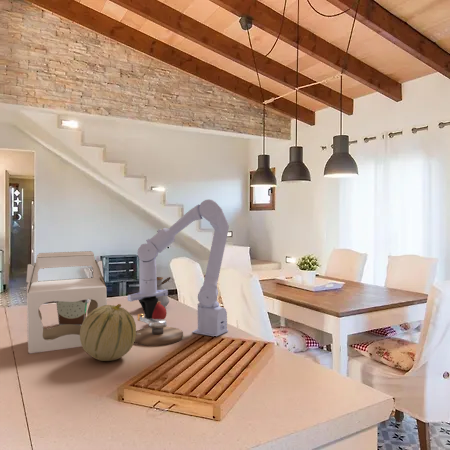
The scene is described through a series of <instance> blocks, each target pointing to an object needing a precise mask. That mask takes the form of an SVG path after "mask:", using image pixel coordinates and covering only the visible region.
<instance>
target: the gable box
mask: <svg viewBox="0 0 450 450" xmlns="http://www.w3.org/2000/svg"><path fill="white" fill-rule="evenodd" d="M71 267H75V268H76V267H92V277H82V278H68V279H67V278H66V279H54V280H53V279H51V280H50V279H49V280H39V275H38V274H39V271H40V270H41V269H43V270H44V269H53V268H54V269H55V268H71ZM25 282H26V283H27V285H26V306H27V307H26V313H27V315H26V316H27V317H26V321H27V323H26V324H27V325H26V326H27V352H28V354H39V353H44V352H51V351H58V350H66V349H73V348H80V347H81V348H83V347H82V344H81V341H80V329H81V325H74V324H64V325H57V326H54V327H51V328H44V324H43V322H42V321H43V320H42V319H43V317H42V313H41V311H40V307H41V306H42V305H45V304H47V303H51V302H55V301H63V302H76V301H81V300H87V299H89V300H90V301H89V305H88V306H87V310H86V316H87V315H88V314H89V313H90V312H92V311H93V310H94V309H96V308H98V307H101V306H104V305H108V303H107V297H108V296H107V294H108V293H107V285H106V282H105V280H104V268H103V260H98V261H97V260H96V259H95V253H94V252H93V251H91V250H84V251H82V250H81V251H57V252H39V253H38V254H37V255H36V259H35V262H34V264H33V265H32V264H31V263H29V264H27V270H26V279H25Z"/></svg>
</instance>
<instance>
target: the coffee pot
mask: <svg viewBox="0 0 450 450" xmlns="http://www.w3.org/2000/svg"><path fill="white" fill-rule="evenodd" d="M171 279H172V280H171ZM170 280H171V282H173V281H174V279H173V278H172V277H170V276H169V277H166V278H165V279H164V277H161V276H157V290H164V289H165V287H164V284H166V283H168V282H169V283H170ZM147 297H148V296H147ZM156 298H158V302H159V301H160V302H161V303H160V304H161V305H163V306H164V307H165V308H166V307H168V305H169V303H170V298H169V297H168V296H159V297H156Z"/></svg>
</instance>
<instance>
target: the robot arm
mask: <svg viewBox="0 0 450 450" xmlns="http://www.w3.org/2000/svg"><path fill="white" fill-rule="evenodd" d="M203 218H204V220H206V221H208V222H209V224H210V225H211V227H212V228H213V230H214V231H213V232H214V233H213V237H212V241H211V242H212V243H211V247H210V251H209V255H208V256H209V257H208V261H207V265H206V266H207V267H206V270H205V271H206V272H205V275H204V280H203V283H202V286H201V287H200V290H199V292H198V294H197V301H198V303H197V329H195V330H192V331H191V333H193V334H198V335H203V336H208V337H209V336H211V337H214V336H216V337H218V336H221V335H223V334H225V333H228V332H229V329H228V312H227V309H226V308H225V307H221V306H220V302H219V301H218V295H219V290H218V281H219V277H220V272H221V268H222V262H223V258H224V252H225V248H226V243H227V239H228V234H229V233H228V232H229V229H230V228H229V227H230V225H229V223H228V220H227V219H226V215H225V213H224V211H223V209H222V207H221V206H220V205H219V204H218V203H217V202H216V201H215V200H213V199H204V200H203V201H202V202H201V203H200V204H197V205H196V206H194V207H192V208H191V209H189V210H188V211H187V212H186V213H185V214H183V216H182V217H180V218H179V219H178V220H177V221H175V223H174V224H173V225H171V226H170V227H169V228H168V227H163V228H159V229H158V230H156V234H154V235H153V236H152V237H151V238H148V239H146V243H142V244H141V245H140V246H139V247H138V250H137V253H136V254H137V257H138V258H139V266H138V273H139V279H138V280H139V291H138V292H135V293H131V294H127V302H134V301H138V302H139V305H140V306H141V308H142V309H143V312H144V313H143V314H144V316H146V317H149V318H152V315H153V311H154V308H155V306H156V304H157V302H158V298H156V297H159V296H167V297H168V295H169V290H168V289H165V288H164V290H157V277H158V276H157V275H158V274H157V270H158V269H157V257H158V254H159V253H162V252H164V250H166V249H167V248H168V247H169V246H171V244H173V243H174V242H175V240H176V239H175V238H176V236H177V235H178V234H179V233H180V232H182V231H183V230H184V229H185V228H187V227H188V226H189V225H190V224H191V223H192V224H193V222H195V221H199V220H203ZM147 296H148V297H147Z"/></svg>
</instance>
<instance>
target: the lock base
mask: <svg viewBox="0 0 450 450" xmlns="http://www.w3.org/2000/svg"><path fill="white" fill-rule="evenodd" d="M183 339H184V331H183V330H181V329H180V328H177V327H172V326H166V327H164V328H150V327H147V328H146V327H145V328H140V329H136V338H135V343H134V344H136V343H138V344H137V345H140V344H144V345H143V346H147V345H159V346H166V345H173V344H175V343H177V342H180V341H182V340H183Z"/></svg>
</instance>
